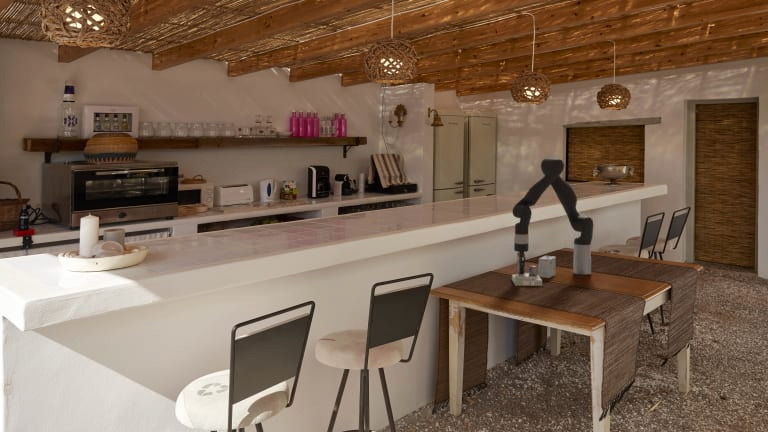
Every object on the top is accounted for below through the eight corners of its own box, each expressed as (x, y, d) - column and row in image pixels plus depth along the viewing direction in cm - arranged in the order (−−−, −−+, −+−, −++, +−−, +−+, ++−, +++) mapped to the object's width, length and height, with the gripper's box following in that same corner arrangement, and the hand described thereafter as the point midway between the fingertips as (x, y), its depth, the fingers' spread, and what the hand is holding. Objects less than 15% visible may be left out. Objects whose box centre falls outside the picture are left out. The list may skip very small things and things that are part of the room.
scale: (537, 280, 326) (537, 272, 325) (542, 286, 311) (542, 278, 311) (511, 279, 327) (512, 272, 327) (515, 285, 313) (515, 278, 312)
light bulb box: (544, 273, 342) (544, 255, 341) (555, 274, 339) (556, 256, 337) (538, 277, 334) (538, 258, 332) (549, 278, 330) (550, 259, 328)
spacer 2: (536, 274, 321) (536, 265, 320) (537, 276, 316) (537, 267, 316) (528, 274, 321) (528, 265, 321) (529, 276, 317) (529, 267, 316)
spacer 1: (524, 273, 321) (524, 264, 321) (525, 274, 317) (525, 265, 316) (516, 272, 322) (516, 263, 321) (517, 274, 317) (517, 265, 317)
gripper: (530, 244, 310) (529, 276, 312) (526, 240, 324) (526, 270, 326) (516, 244, 311) (515, 276, 313) (512, 240, 325) (512, 270, 327)
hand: (520, 273), depth 319 cm, fingers closed on spacer 1, 4 cm apart
